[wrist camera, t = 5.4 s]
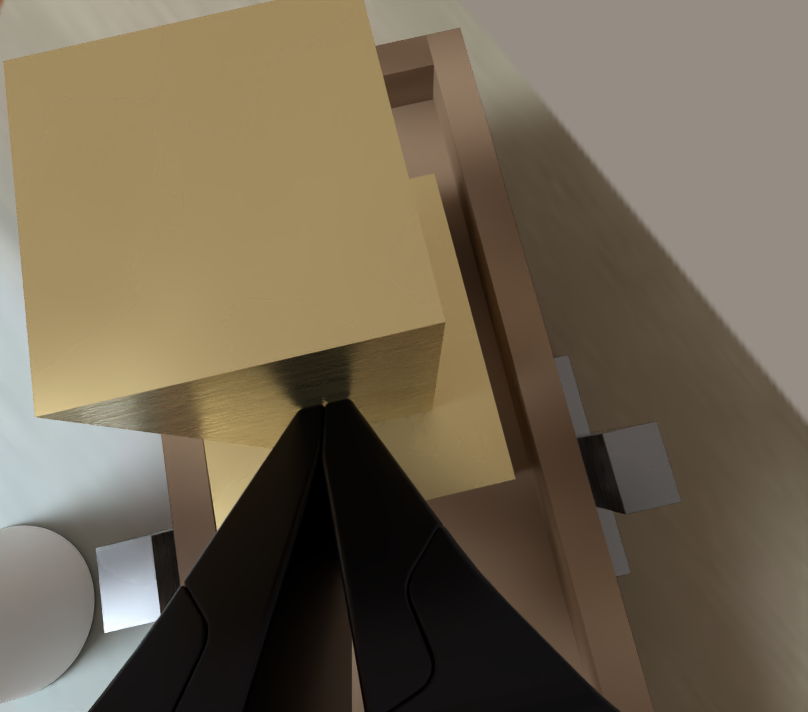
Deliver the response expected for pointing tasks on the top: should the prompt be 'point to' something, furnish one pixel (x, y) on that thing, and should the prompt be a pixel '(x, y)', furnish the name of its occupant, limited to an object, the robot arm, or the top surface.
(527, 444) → the beam
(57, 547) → the cosmetic bottle
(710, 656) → the top surface
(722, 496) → the top surface
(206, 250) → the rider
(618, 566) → the beam stand
